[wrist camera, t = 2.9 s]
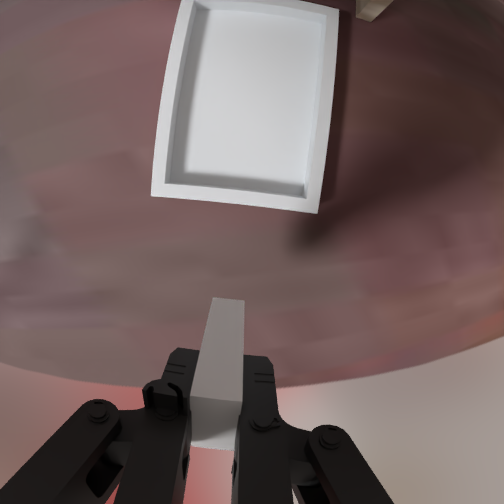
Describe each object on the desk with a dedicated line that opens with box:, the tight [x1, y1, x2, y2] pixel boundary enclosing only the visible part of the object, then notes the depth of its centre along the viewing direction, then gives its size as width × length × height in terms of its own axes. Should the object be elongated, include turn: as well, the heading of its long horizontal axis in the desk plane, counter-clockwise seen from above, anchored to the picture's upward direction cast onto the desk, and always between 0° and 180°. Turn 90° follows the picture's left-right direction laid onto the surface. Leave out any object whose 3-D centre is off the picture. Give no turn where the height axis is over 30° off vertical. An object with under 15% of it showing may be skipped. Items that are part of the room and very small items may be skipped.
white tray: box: [151, 0, 339, 214], centre depth 16 cm, size 10×14×2 cm
